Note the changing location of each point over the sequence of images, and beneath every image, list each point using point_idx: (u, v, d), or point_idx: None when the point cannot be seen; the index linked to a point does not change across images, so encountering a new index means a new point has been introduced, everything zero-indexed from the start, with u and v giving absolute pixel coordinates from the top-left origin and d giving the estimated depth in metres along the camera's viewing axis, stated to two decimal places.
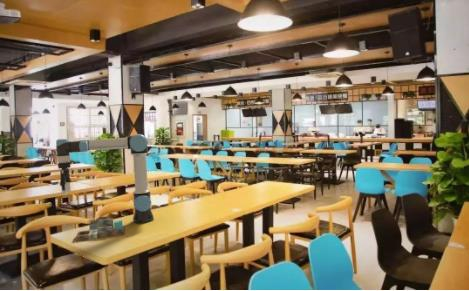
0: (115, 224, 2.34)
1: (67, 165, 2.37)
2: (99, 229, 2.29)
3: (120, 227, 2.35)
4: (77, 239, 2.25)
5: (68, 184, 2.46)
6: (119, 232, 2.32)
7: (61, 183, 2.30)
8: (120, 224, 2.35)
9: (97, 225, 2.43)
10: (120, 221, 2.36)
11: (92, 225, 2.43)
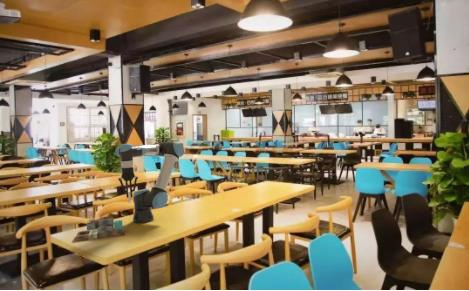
0: (115, 224, 2.34)
1: (123, 171, 2.34)
2: (99, 229, 2.29)
3: (120, 227, 2.35)
4: (77, 239, 2.25)
5: None
6: (119, 232, 2.32)
7: (123, 190, 2.38)
8: (120, 224, 2.35)
9: (92, 225, 2.43)
10: (120, 221, 2.36)
11: (88, 225, 2.45)
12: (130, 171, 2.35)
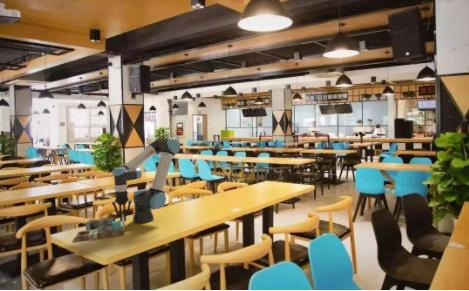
0: (114, 224, 2.34)
1: (117, 195, 2.34)
2: (99, 229, 2.29)
3: (119, 227, 2.35)
4: (77, 239, 2.25)
5: None
6: (119, 232, 2.32)
7: (117, 214, 2.37)
8: (119, 224, 2.35)
9: (88, 225, 2.44)
10: (119, 221, 2.36)
11: (86, 224, 2.47)
12: (124, 195, 2.34)
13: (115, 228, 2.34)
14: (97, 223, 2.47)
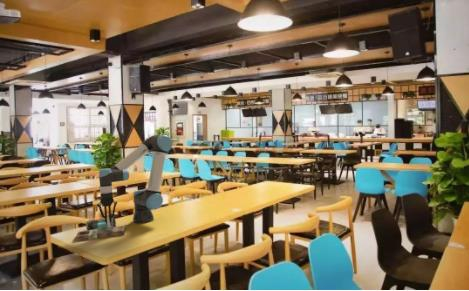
0: (99, 226, 2.31)
1: (101, 196, 2.31)
2: (99, 229, 2.29)
3: None
4: (77, 239, 2.25)
5: None
6: (119, 232, 2.32)
7: (102, 216, 2.35)
8: (104, 226, 2.32)
9: (86, 225, 2.46)
10: (104, 223, 2.33)
11: (86, 223, 2.48)
12: (109, 197, 2.32)
13: None
14: (95, 223, 2.47)
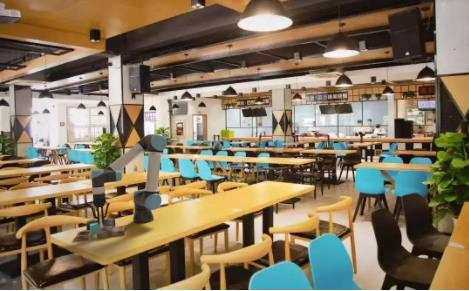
0: (91, 227, 2.30)
1: (94, 197, 2.30)
2: (99, 229, 2.29)
3: (96, 230, 2.31)
4: (77, 239, 2.25)
5: None
6: (119, 232, 2.32)
7: None
8: (96, 227, 2.31)
9: (86, 224, 2.47)
10: (96, 224, 2.32)
11: (86, 223, 2.50)
12: (101, 197, 2.31)
13: (92, 231, 2.30)
14: None
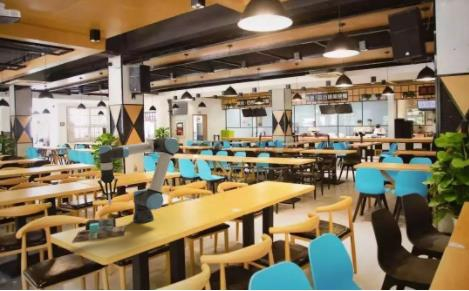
0: (91, 227, 2.30)
1: (102, 173, 2.31)
2: (99, 229, 2.29)
3: (96, 230, 2.31)
4: (77, 239, 2.25)
5: None
6: (119, 232, 2.32)
7: (103, 193, 2.34)
8: (96, 227, 2.31)
9: None
10: (96, 224, 2.32)
11: None
12: (109, 173, 2.31)
13: (92, 231, 2.30)
14: (93, 223, 2.47)
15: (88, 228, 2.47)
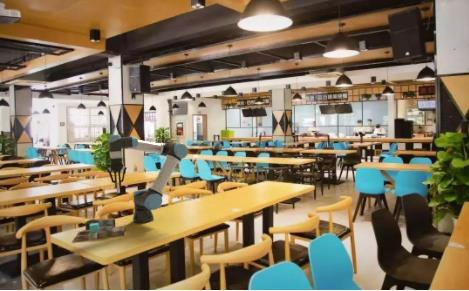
0: (91, 227, 2.30)
1: (111, 161, 2.37)
2: (99, 229, 2.29)
3: (96, 230, 2.31)
4: (77, 239, 2.25)
5: None
6: (119, 232, 2.32)
7: (112, 181, 2.40)
8: (96, 227, 2.31)
9: None
10: (96, 224, 2.32)
11: None
12: (118, 161, 2.37)
13: (92, 231, 2.30)
14: (92, 223, 2.48)
15: (88, 227, 2.49)
